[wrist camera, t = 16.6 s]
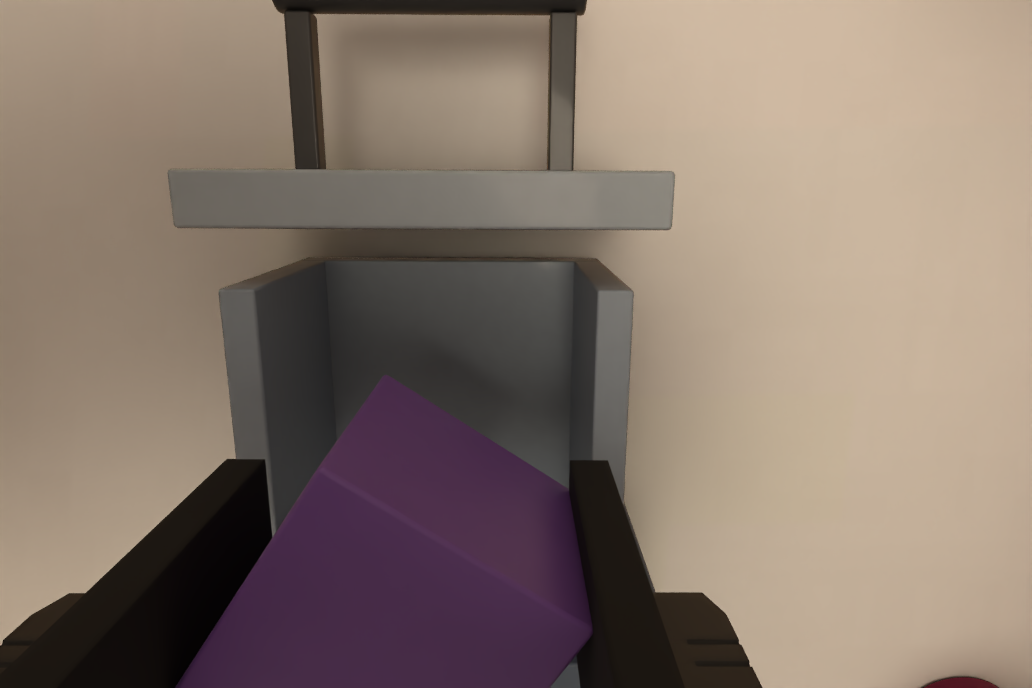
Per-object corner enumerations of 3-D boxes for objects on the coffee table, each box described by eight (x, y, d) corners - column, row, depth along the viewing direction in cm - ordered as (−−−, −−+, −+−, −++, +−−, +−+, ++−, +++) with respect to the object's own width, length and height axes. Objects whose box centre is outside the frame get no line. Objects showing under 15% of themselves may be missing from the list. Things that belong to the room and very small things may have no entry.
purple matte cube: (275, 541, 14) (162, 705, 9) (386, 372, 13) (318, 466, 8) (453, 644, 14) (426, 843, 10) (571, 489, 13) (597, 632, 9)
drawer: (266, -3, 19) (132, -106, 12) (629, -1, 19) (693, -102, 12) (310, 542, 23) (227, 688, 16) (606, 543, 23) (644, 688, 16)
